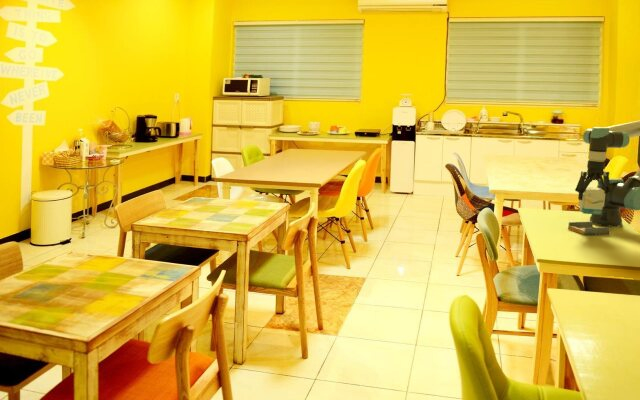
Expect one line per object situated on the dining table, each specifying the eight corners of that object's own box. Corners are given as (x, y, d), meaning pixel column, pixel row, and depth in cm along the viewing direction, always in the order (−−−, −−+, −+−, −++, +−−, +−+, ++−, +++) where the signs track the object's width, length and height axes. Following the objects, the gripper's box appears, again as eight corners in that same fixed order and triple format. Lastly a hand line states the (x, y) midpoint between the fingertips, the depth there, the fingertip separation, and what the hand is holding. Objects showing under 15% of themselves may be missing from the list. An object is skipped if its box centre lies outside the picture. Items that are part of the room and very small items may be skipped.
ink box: (602, 215, 293) (605, 190, 291) (583, 213, 295) (585, 189, 293) (597, 211, 302) (600, 187, 299) (579, 210, 303) (581, 186, 301)
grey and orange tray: (591, 228, 308) (591, 221, 307) (609, 234, 296) (610, 227, 295) (568, 229, 305) (568, 222, 304) (585, 235, 292) (586, 228, 292)
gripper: (612, 159, 300) (606, 204, 304) (570, 159, 294) (565, 205, 298) (623, 161, 293) (617, 207, 297) (580, 161, 287) (575, 208, 291)
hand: (591, 206), depth 298 cm, fingers closed on ink box, 10 cm apart
